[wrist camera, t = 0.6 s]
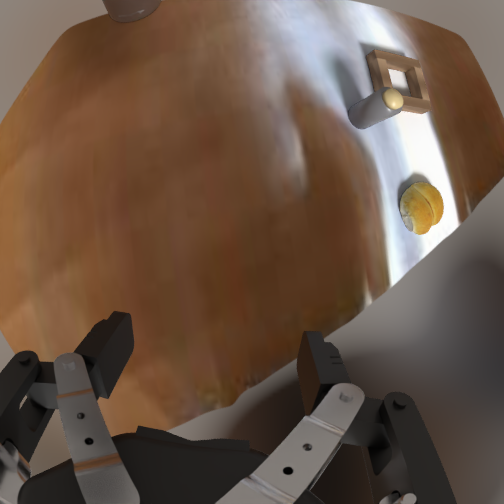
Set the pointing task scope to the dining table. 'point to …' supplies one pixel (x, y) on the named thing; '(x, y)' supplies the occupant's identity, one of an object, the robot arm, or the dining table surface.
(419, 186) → the bread roll
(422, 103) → the socket
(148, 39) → the dining table surface
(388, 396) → the robot arm
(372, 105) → the plug
